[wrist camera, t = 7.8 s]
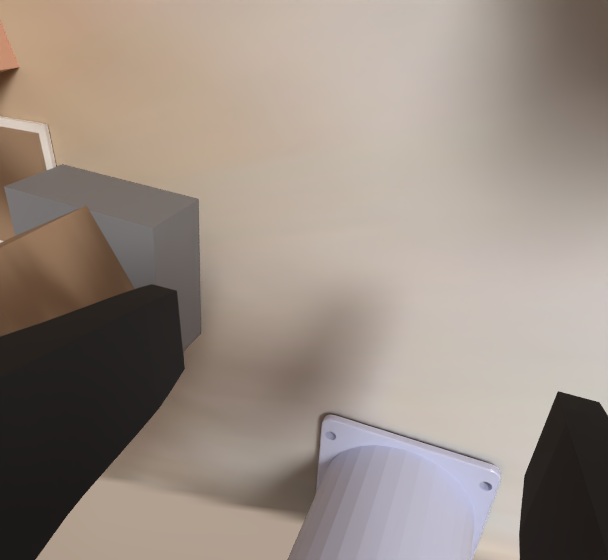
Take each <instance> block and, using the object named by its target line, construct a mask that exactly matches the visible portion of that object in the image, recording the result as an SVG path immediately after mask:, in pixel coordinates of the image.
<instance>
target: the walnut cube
mask: <svg viewBox="0 0 608 560" xmlns="http://www.w3.org/2000/svg"><path fill="white" fill-rule="evenodd" d="M133 289H135V288H134V287H133V285H132V283H131V282H130V280H129V278H128V276H127V275H126V273H125V271H124V270H123V268H122V266H121V264H120V263H119V261H118V259H117V257H116V256H115V254H114V252H113V251H112V249H111V247H110V245H109V244H108V242H107V240H106V238H105V237H104V235H103V233H102V232H101V230H100V228H99V226H98V225H97V223H96V221H95V219H94V218H93V216H92V214H91V213H90V211H89V209H88V207H87V206H84V207H81V208H79V209H77V210H74V211H72V212H70V213H67V214H65V215H63V216H60V217H58V218H56V219H53V220H51V221H49V222H46V223H44V224H42V225H39V226H37V227H35V228H32V229H30V230H28V231H25V232H23V233H21V234H18V235H16V236H14V237H11V238H9V239H7V240H5V241H3V242H1V243H0V336H3V335H6V334H9V333H12V332H15V331H18V330H21V329H24V328H27V327H30V326H33V325H36V324H39V323H42V322H45V321H48V320H51V319H53V318H56V317H59V316H61V315H64V314H67V313H70V312H72V311H75V310H78V309H80V308H83V307H86V306H89V305H91V304H94V303H97V302H99V301H102V300H105V299H108V298H110V297H113V296H116V295H119V294H122V293H124V292H127V291H130V290H133Z"/></svg>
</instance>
